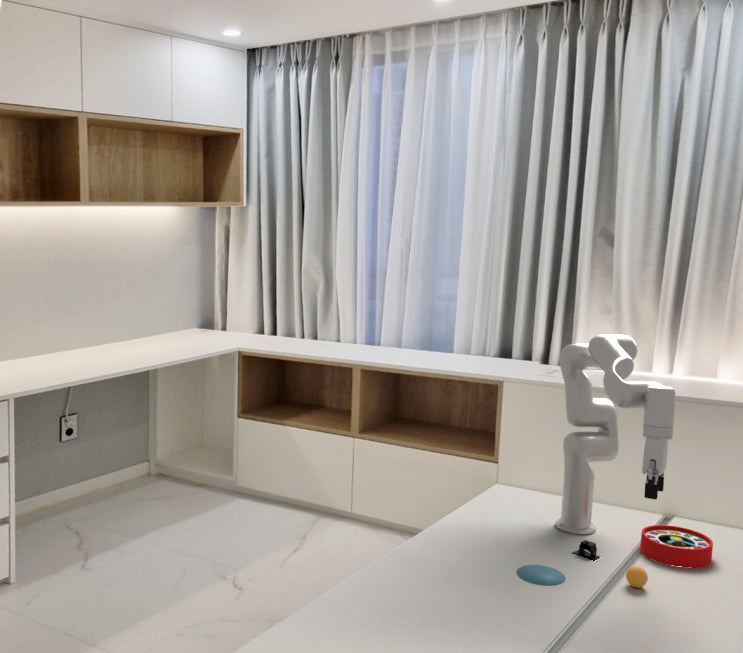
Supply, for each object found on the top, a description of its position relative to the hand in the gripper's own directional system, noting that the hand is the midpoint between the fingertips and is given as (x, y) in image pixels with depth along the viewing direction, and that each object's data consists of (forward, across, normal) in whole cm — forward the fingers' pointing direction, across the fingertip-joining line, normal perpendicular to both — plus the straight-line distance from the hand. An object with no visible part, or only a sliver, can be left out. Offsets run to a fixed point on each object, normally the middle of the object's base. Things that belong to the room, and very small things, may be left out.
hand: (653, 494), depth 211 cm
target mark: (+24, +12, -26) cm, 38 cm away
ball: (+22, +5, -2) cm, 22 cm away
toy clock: (+24, -27, +3) cm, 36 cm away
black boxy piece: (+25, -10, -19) cm, 33 cm away
